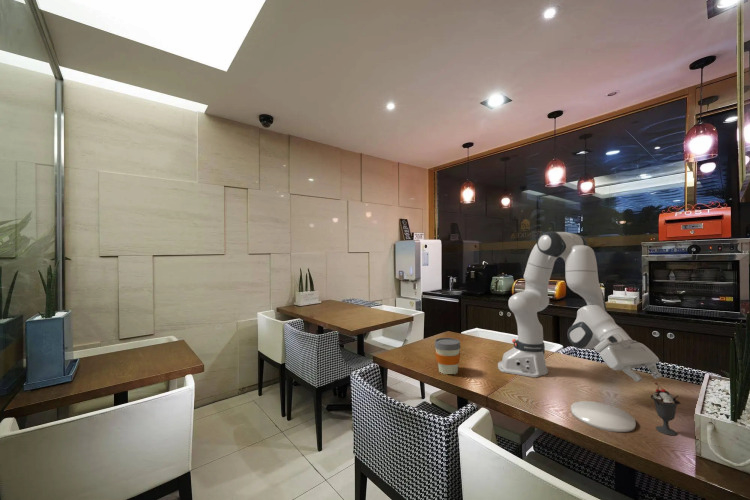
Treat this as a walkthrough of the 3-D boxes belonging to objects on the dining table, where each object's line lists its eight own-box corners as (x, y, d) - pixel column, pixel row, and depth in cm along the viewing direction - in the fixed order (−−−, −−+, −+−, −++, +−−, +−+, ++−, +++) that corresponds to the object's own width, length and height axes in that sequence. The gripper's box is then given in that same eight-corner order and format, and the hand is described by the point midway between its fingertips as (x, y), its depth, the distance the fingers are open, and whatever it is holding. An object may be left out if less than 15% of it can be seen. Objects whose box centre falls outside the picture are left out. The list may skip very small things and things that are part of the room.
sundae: (646, 426, 99) (644, 380, 99) (664, 424, 100) (662, 379, 100) (667, 438, 92) (665, 389, 93) (687, 436, 93) (685, 387, 93)
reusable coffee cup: (451, 378, 140) (450, 346, 141) (430, 371, 150) (429, 341, 150) (466, 371, 149) (465, 340, 149) (445, 364, 158) (444, 336, 158)
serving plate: (579, 427, 99) (579, 423, 99) (565, 401, 116) (564, 398, 116) (647, 436, 94) (647, 432, 94) (621, 408, 111) (621, 404, 111)
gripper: (630, 344, 115) (662, 380, 105) (590, 349, 109) (620, 386, 99) (643, 335, 111) (677, 371, 101) (602, 339, 105) (635, 378, 95)
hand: (649, 379), depth 100 cm, fingers open, 8 cm apart
